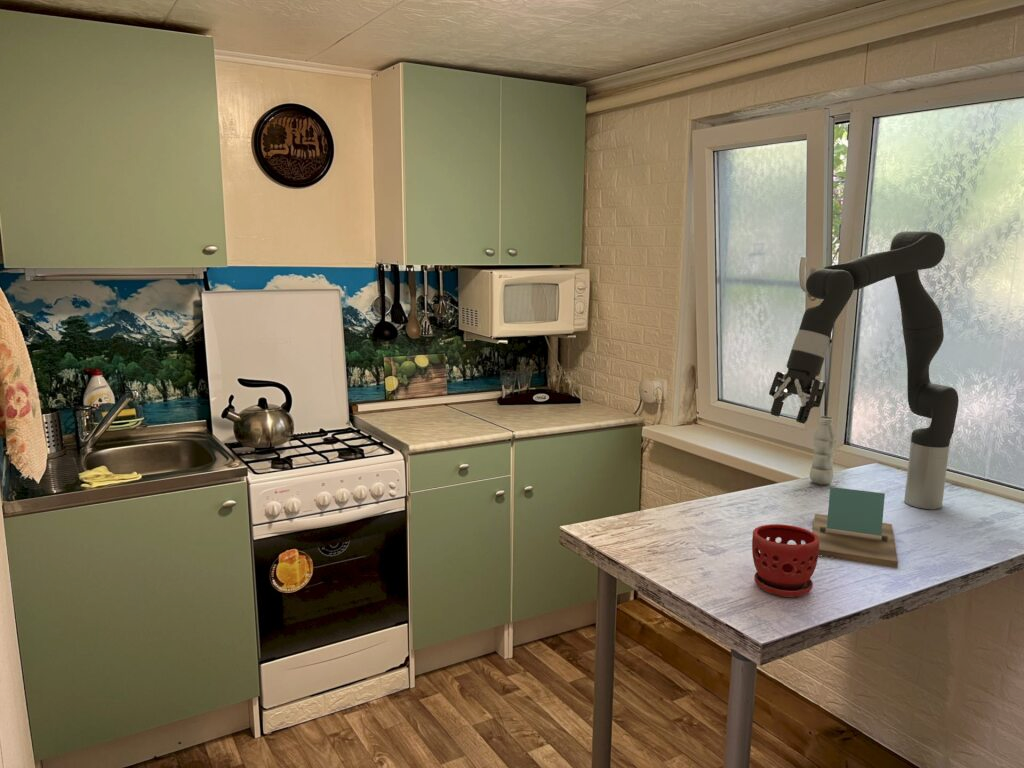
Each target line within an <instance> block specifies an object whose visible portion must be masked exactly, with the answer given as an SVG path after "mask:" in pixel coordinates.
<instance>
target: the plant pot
mask: <svg viewBox="0 0 1024 768" xmlns="http://www.w3.org/2000/svg"><path fill="white" fill-rule="evenodd" d="M767 538H768V539H767ZM778 538H780V539H781V541H779V542H777V541H776V539H778ZM789 541H793V542H795V544H791V543H790V544H789ZM802 541H803V542H804V543H805V544H802ZM751 542H752V543H751V545H752V546H751V551H752V552H751V553H752V559H753V564H754V568H755V569H756V572H755V574H754V576H753V579H754V582H755V584H756V585H757V586H758V587H759V588H760V589H761V590H763V591H765V592H766V593H769V594H772V595H774V596H780V597H786V598H798V597H801V596H804V595H806V594H808V593H810V592H811V590H812V589H813V587H814V583H813V580H812V579H811V578H812V576H813V574H814V572H815V570H816V567H817V563H818V559H819V556H818V553H819V538H818V536H817V535H816V534H814V533H813V531H811V530H809V529H807V528H804V527H799V526H796V525H790V524H782V523H781V524H779V523H778V524H777V523H776V524H772V523H771V524H765V525H760V526H758V527H757V526H756V528H754V529H753V530H752V541H751Z"/></svg>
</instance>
